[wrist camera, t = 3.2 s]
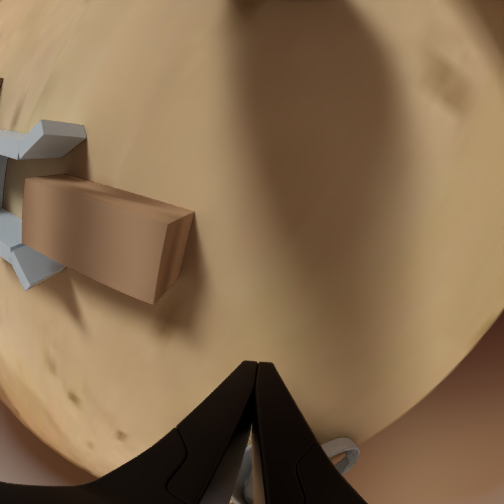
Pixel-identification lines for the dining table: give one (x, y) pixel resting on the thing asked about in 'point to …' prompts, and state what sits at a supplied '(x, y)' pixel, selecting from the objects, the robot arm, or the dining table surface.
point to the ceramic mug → (244, 481)
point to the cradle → (10, 226)
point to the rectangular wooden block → (106, 233)
